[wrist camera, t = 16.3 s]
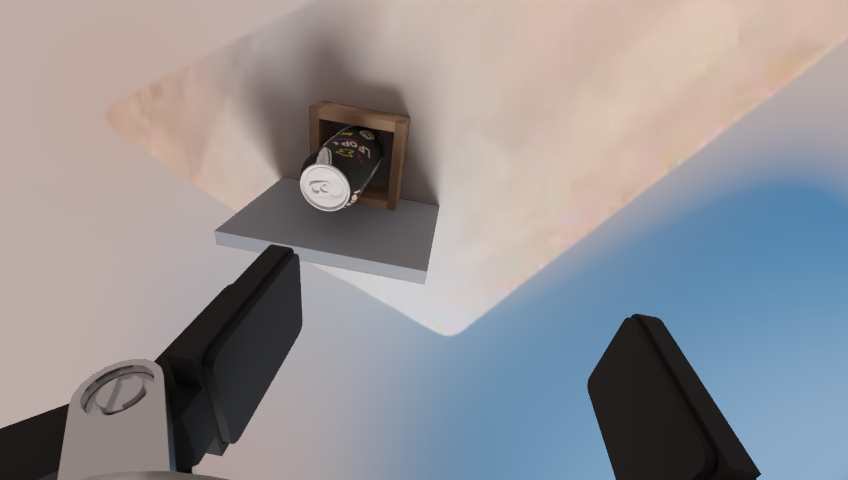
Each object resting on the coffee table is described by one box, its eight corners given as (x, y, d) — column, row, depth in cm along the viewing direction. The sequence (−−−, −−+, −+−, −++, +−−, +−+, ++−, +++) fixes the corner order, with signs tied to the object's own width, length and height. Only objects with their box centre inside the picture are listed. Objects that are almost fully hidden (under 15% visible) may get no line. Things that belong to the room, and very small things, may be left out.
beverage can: (331, 126, 40) (283, 161, 30) (379, 119, 39) (345, 153, 29) (345, 173, 43) (305, 220, 33) (390, 167, 42) (362, 214, 32)
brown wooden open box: (410, 116, 39) (404, 124, 36) (400, 198, 44) (394, 210, 41) (321, 101, 39) (309, 106, 36) (322, 184, 44) (311, 195, 42)
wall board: (439, 206, 44) (426, 271, 32) (437, 216, 45) (424, 284, 33) (283, 177, 45) (214, 231, 33) (284, 187, 45) (216, 244, 33)
